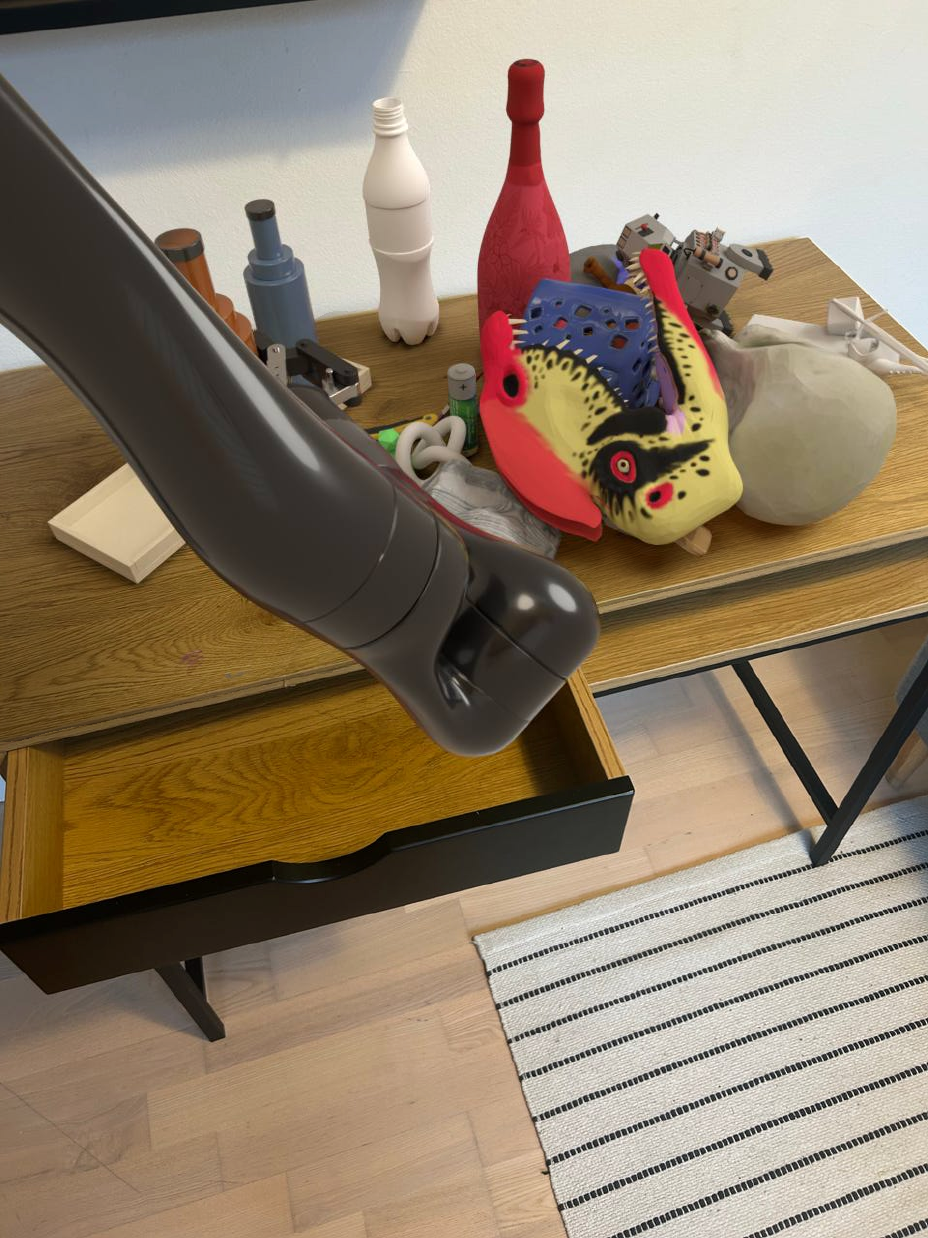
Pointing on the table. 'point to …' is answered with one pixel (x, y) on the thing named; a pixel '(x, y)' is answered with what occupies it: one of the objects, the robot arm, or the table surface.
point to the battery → (464, 403)
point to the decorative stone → (491, 506)
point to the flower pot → (597, 333)
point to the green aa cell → (447, 408)
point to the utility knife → (402, 424)
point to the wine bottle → (521, 212)
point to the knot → (430, 445)
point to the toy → (611, 427)
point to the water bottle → (400, 228)
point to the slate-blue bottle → (277, 283)
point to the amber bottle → (203, 278)
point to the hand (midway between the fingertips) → (201, 356)
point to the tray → (128, 520)
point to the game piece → (389, 441)
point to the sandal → (690, 542)
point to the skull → (798, 423)
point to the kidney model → (605, 260)
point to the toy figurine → (605, 279)
